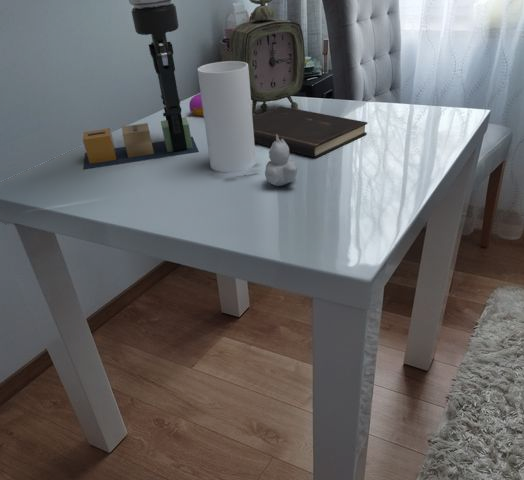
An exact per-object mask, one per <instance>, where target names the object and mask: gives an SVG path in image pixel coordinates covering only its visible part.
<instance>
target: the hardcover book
mask: <svg viewBox="0 0 524 480" xmlns="http://www.w3.org/2000/svg"><path fill="white" fill-rule="evenodd" d="M252 119H253V131H254V144H258V145H263V146H266V147H270V148H271V147H272V143H274V141H276V134H277V135H278V138H279V140H281V139H283V140H284V141H285V143H286V144H287V145H288V147H289V153H290V152H291V153H294V154H297V155H298V154H299V155H302V156H307V157H310V158H313V159H317V158H320V157H321V156H324V155H326V154H328V153H330V152H333V151H334V150H336V149H339V148H341V147H343V146H345V145H347V144H350V143H352V142H354V141H356V140H358V139H360V138H362V137H364V136H366V135H368V133H367V132H365V131H366V125H368V123H369V122H367V121H363V120H358V119H352V118H347V117H342V116H335V115H330V114H325V113H320V112H315V111H310V110H303V109H298V108H297V109H293V108H291V107H287V106H282V105H281V106H278V107H275V108H272V109H269V110H266V111H263V112H261V113H258V114H257V115H256V116H253V117H252Z"/></svg>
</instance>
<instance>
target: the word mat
mask: <svg viewBox="0 0 524 480" xmlns="http://www.w3.org/2000/svg"><path fill="white" fill-rule="evenodd" d="M191 141H192V147H193V148H191V149H184V150H178V151H172V152H167V149H166V145H165V141H164V140H161V141H154V142H153V141H152V146H153V151H154V154H152V155H145V156H139V157H132V158H128V155H127V151H126V147H125V146H121V147H115V150H116V160H112V161H106V162H99V163H93V164H90V163H89V159H88V156H87V152H86V151H85V152H84V157H83V167H82V170H83V171H85V170H90V169H91V170H92V169H98V168H104V167H111V166H117V165H124V164H130V163H136V162H143V161H149V160H155V159H157V160H158V159H161V158H168V157H170V158H171V157H177V156H182V155H188V154H194V153H195V154H196V153H200V151H199V148H198V146H197V143H196V141H195V139H194V137H193V136H191Z"/></svg>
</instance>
